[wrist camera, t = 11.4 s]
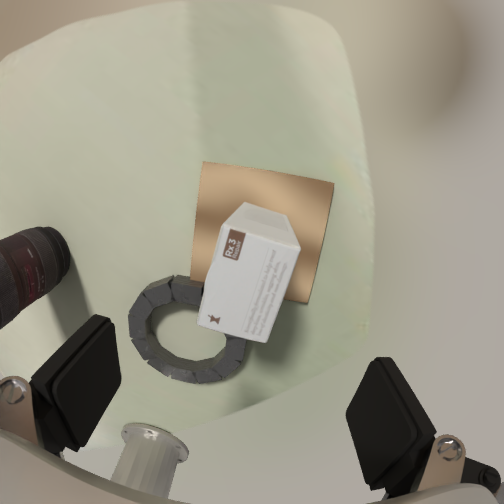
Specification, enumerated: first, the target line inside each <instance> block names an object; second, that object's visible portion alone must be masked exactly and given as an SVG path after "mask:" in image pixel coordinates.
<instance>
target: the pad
mask: <svg viewBox="0 0 504 504" xmlns="http://www.w3.org/2000/svg"><path fill="white" fill-rule="evenodd" d="M333 188H334V183H331V182H326V181H321V180H317V179H312V178H307V177H301V176H296V175H291V174H285V173H280V172H274V171H268V170H262V169H255V168H248V167H242V166H234V165H227V164H219V163H211V162H203V164H202V171H201V178H200V186H199V194H198V202H197V210H196V219H195V229H194V239H193V249H192V261H191V273H190V280H195V281H201V282H205V280H206V277H207V273H208V271H209V269H210V266H211V262H212V258H213V255H214V251H215V247H216V243H217V240H218V236H219V233H220V229H221V226H222V224H223V223H224V222H225V221H226V220H227V219H228V218H229V217H230V216H231V215H232V214H233V213H234V212H235V211H236V210H237V209H238V208H239V207H240V206H241V205H242V204H243V203H244V202H247V203H250V204H253V205H256V206H259V207H262V208H265V209H268V210H271V211H274V212H278V213H281V214H284V215H287V217H288V219H289V222H290V224H291V226H292V229H293V231H294V233H295V235H296V238H297V240H298V242H299V245H300V247H301V251H300V253H299V256H298V259H297V262H296V265H295V268H294V270H293V273H292V276H291V279H290V282H289V285H288V287H287V290H286V293H285V296H284V298H283V299H285V300H292V301H299V302H306V303H308V299H309V296H310V292H311V288H312V284H313V280H314V276H315V272H316V268H317V264H318V259H319V255H320V251H321V246H322V242H323V237H324V233H325V228H326V223H327V219H328V214H329V209H330V204H331V199H332V193H333ZM204 285H205V283H204Z"/></svg>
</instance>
